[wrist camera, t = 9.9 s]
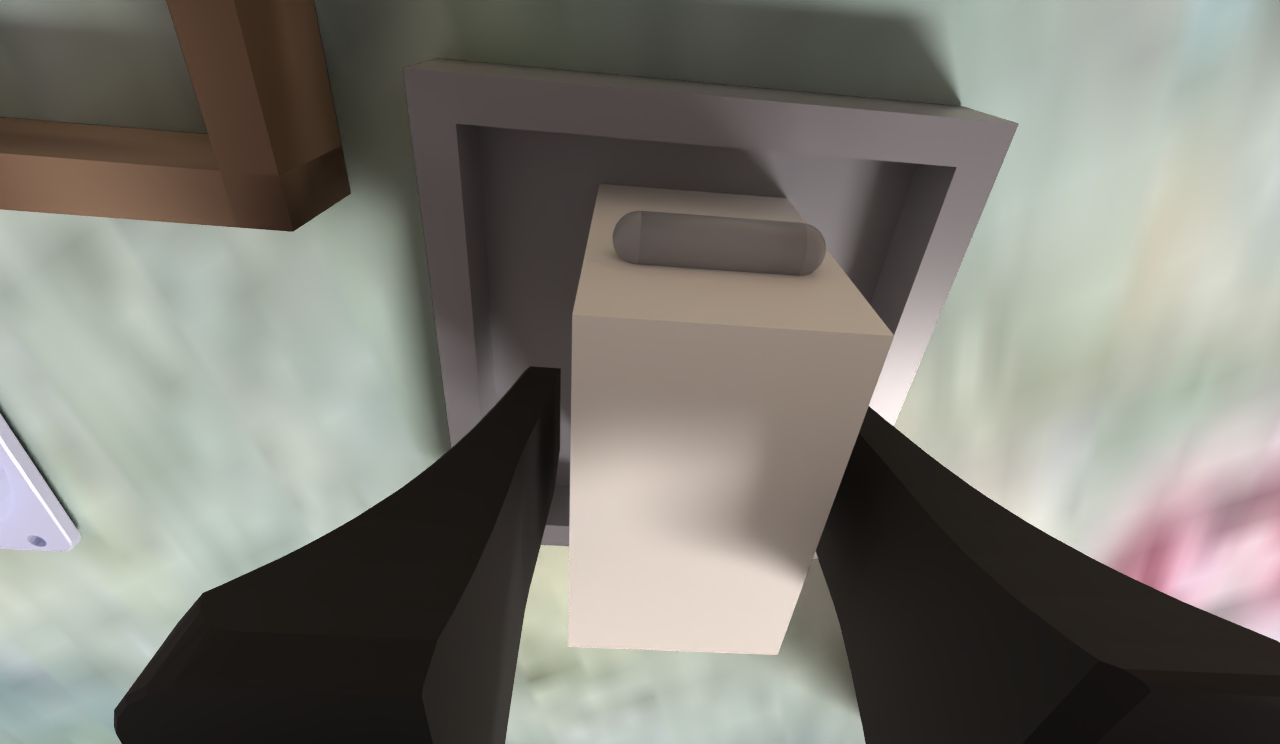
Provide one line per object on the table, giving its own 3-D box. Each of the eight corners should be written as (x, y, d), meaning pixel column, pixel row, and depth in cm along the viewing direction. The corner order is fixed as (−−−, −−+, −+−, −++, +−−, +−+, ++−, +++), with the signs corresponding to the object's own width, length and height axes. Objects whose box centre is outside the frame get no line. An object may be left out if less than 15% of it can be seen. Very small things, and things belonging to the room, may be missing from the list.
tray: (479, 488, 17) (463, 540, 16) (437, 58, 11) (402, 68, 9) (819, 507, 18) (838, 559, 16) (963, 106, 12) (1018, 123, 10)
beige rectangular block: (589, 440, 16) (568, 646, 11) (600, 148, 12) (572, 260, 6) (732, 448, 16) (777, 655, 11) (794, 164, 12) (913, 283, 7)
